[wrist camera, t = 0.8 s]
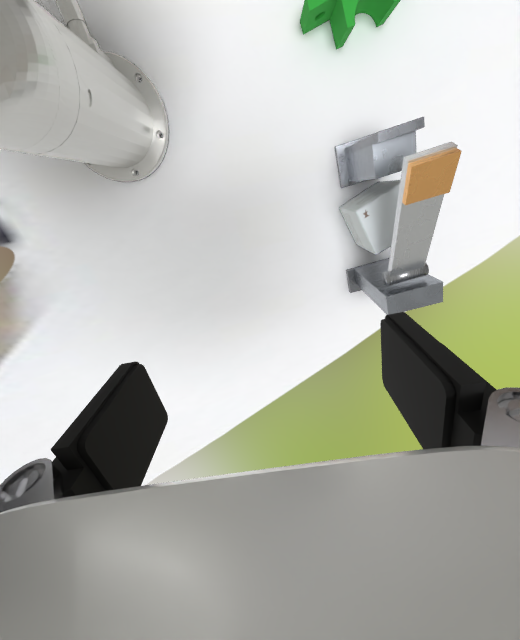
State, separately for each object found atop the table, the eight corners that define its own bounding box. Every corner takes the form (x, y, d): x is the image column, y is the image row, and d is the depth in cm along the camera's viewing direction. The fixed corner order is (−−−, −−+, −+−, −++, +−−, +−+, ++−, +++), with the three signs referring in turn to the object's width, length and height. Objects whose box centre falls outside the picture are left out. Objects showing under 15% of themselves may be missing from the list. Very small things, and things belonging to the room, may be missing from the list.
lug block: (334, 147, 34) (365, 129, 24) (383, 130, 33) (435, 105, 23) (340, 188, 36) (371, 187, 26) (386, 173, 35) (436, 167, 25)
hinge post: (346, 269, 41) (376, 299, 30) (400, 254, 40) (452, 279, 29) (349, 291, 42) (380, 326, 31) (401, 277, 41) (452, 308, 30)
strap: (396, 156, 22) (406, 165, 20) (453, 138, 21) (468, 146, 20) (381, 279, 32) (387, 290, 31) (419, 269, 31) (427, 279, 30)
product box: (355, 245, 39) (374, 256, 33) (337, 206, 37) (354, 210, 30) (396, 221, 38) (424, 228, 31) (379, 179, 35) (407, 177, 29)
